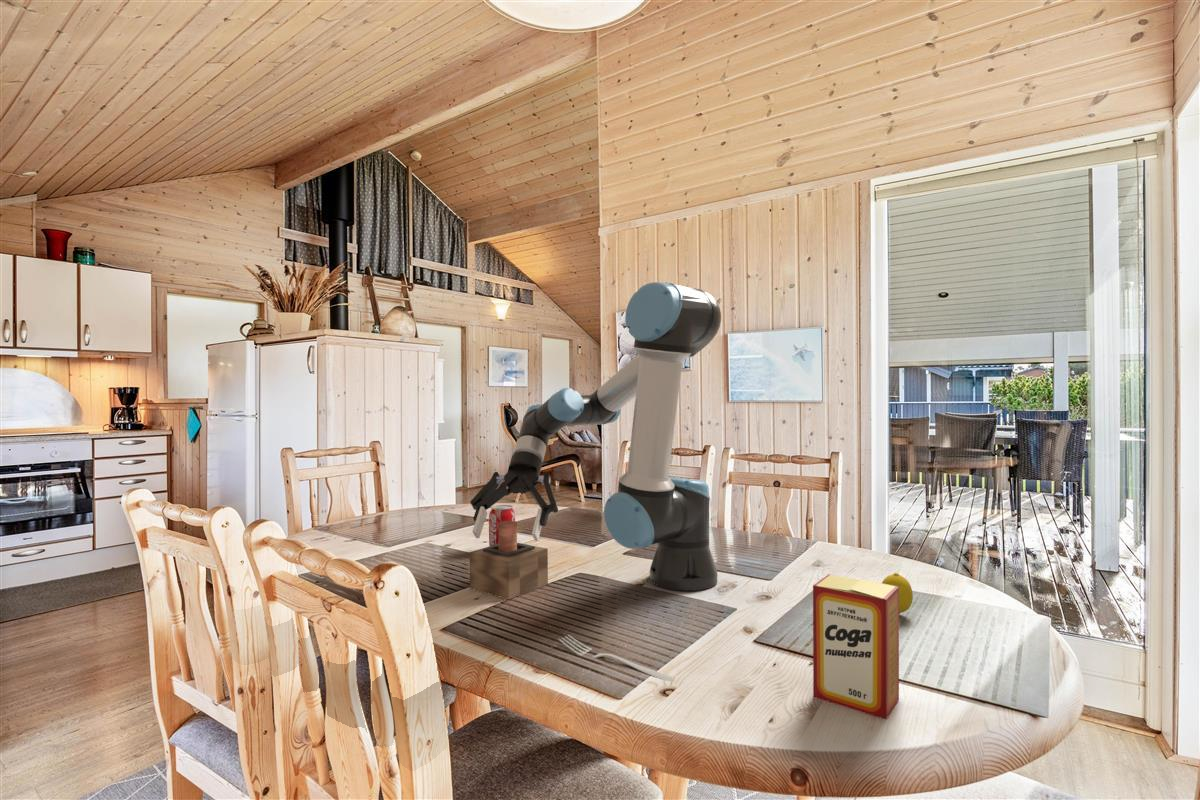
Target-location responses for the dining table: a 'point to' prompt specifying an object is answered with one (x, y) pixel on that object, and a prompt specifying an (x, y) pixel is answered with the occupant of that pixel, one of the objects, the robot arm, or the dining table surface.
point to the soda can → (498, 520)
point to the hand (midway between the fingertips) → (504, 536)
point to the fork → (638, 667)
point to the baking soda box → (856, 644)
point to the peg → (507, 536)
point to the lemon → (901, 590)
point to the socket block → (508, 570)
